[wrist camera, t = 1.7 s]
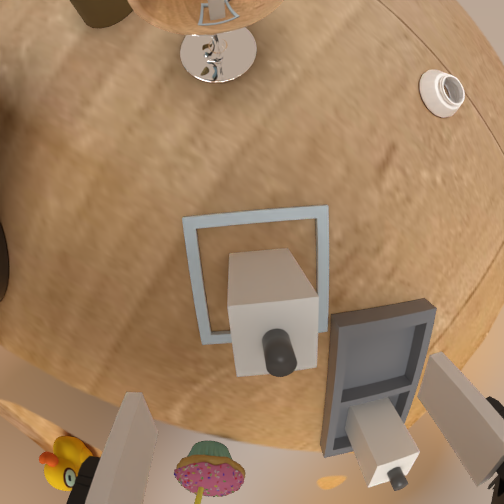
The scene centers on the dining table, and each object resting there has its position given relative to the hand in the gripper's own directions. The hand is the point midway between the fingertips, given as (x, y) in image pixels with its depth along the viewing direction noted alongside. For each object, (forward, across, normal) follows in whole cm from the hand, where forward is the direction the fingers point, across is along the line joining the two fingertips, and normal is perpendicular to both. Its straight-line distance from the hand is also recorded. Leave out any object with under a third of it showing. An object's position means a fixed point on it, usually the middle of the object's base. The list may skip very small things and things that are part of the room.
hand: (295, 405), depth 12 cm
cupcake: (+16, -8, -24) cm, 30 cm away
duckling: (+16, -29, -25) cm, 41 cm away
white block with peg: (+15, 0, 0) cm, 15 cm away
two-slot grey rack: (+16, +12, -15) cm, 24 cm away
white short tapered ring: (+16, +19, +17) cm, 30 cm away
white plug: (+15, +12, -20) cm, 27 cm away
